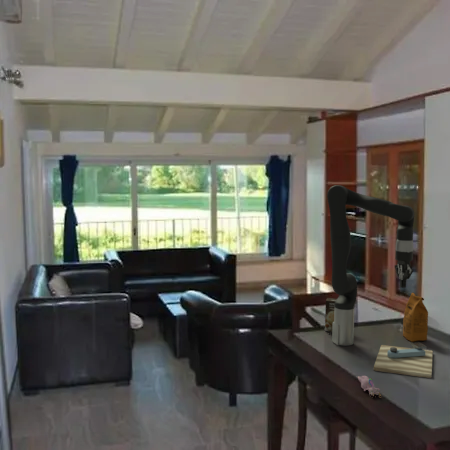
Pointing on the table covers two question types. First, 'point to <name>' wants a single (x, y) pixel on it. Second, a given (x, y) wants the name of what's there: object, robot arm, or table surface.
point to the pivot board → (404, 363)
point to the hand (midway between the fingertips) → (402, 287)
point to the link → (406, 353)
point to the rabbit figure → (368, 385)
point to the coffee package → (415, 319)
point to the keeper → (417, 345)
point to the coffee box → (329, 313)
